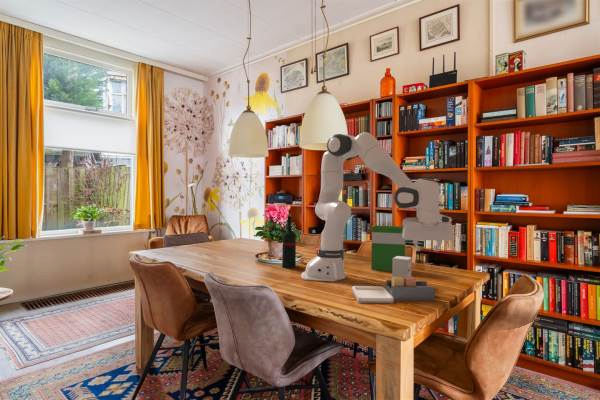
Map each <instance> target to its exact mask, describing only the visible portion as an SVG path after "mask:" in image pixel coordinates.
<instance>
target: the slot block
mask: <svg viewBox="0 0 600 400" xmlns="http://www.w3.org/2000/svg"><path fill="white" fill-rule="evenodd" d="M385 288H386V290H387V291H388V292H389V293H390V294H391V295H392V297H393V298H394V302H395V301H396V302H397V301H400V302H401V301H404V302H407V301H409V302H413V301H414V302H435V296H436V294H435V293H436V288H435V286H434V285H433V286H432V285H431V286H429V285H428V281H427V280H416V286H391V279H388V280H387V279H386V281H385Z"/></svg>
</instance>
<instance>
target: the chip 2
mask: <svg viewBox="0 0 600 400" xmlns="http://www.w3.org/2000/svg"><path fill="white" fill-rule="evenodd" d="M403 279H404V286H416V281H417V278H415V277H414V276H411V277H409V276H403Z"/></svg>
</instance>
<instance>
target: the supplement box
mask: <svg viewBox="0 0 600 400" xmlns="http://www.w3.org/2000/svg"><path fill="white" fill-rule="evenodd" d="M412 260H413V259H412V257H411V256H405V257H403V256H396V257H394V258H393V263H392V271H391V272H392V273H391V277H392V276H401V277H402V278H403V276H409V277H412Z"/></svg>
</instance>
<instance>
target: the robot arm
mask: <svg viewBox="0 0 600 400" xmlns="http://www.w3.org/2000/svg"><path fill="white" fill-rule="evenodd" d="M326 148H327V151H325V152H324V153H323V154H322V159H321V168H320V174H321V175H320V176H321V177H320V193H319V197H318V201H317V203H316V205H315V208H314V213H315V215H316V216H317V217H318V218H319V219H321V220H323V221H325V224H324V228H323V230H322V232H321V233H320V248H318V247H317V248H316V249H315V252H316V256H315V257H314V258H312V259H311V260H310V261H309V262H307V264H306V267H305V270H304V271H302V272H301V275H300V277H301V279H302V280H305V281H321V282H337V281H340V280H343V279H344V280H345V279H346V277H347V276H346V273H345V267H344V266H345V265H344V258H345V250H344V231H345V228H346V225H347V222H348V221H349V220H350V218H351V215H352V208H351V206H350V205H349V204H348V203H346V202H345V201H343V200H339V199H340V194H341V192H342V190H343V189H344V162H346V161H351V160H353V159H355V158H358V157H359V158H360V159H361V161H362V162H363V163H364V164H365V165H366V167H368V169H370V170H371V171H373V172H375V173H377V174H381V175H383V176H385V177H387V178H389V179H390V180H391V181H392V182H393V183H394V184H395V186H396V187H398V188H397V189H396V190H395V192H394V195H393V200H394V204H395V205H396V206H397V207H398V208H400V209H403V210H410V209H413V210H414V209H416V217H406V218H404V219H403V220H402V224H401V225H402V226H403V231H402V237H403V239H405V241H412V244H413V245H414V247H415V251H416V252H421V246H419V245H418V243H419V241H436V245H434V246H433V251H434V252H439V251H440V247H441V246H442V244H443V241H452V240H453V239H454V237H455V236H454V227H453V224H452V221H453V219H452V217H450V216H448V215H444V214H441V213H440V206H439V203H440V200H441V197H440V196H441V195H440V184H439V181H437V180H436V179H433V178H432V179H431V178H424V177H420V178H419V179H417V180H416V181H414V182H413V180H412V179H410V177H409V176H408V175H407V174H406V173H405V172H404V171H403V170H402V168H401V167H400V166H399V165H398V164H397V163H396V161H395V160H394V159H393V157H392V156H391V155H390V153H389V152H388V151H387V150H386V148H385V147H384V146H383V144H382V143H380V141H379V140H378V139H377V138H376V137H375V136H373V134H371V133H370V132H367V131H363V132H361V133H359V134H357V136H354V135H351V134H343V133H336V134H333V135H331V136H330V137H329V138H328V140H327V143H326Z"/></svg>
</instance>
